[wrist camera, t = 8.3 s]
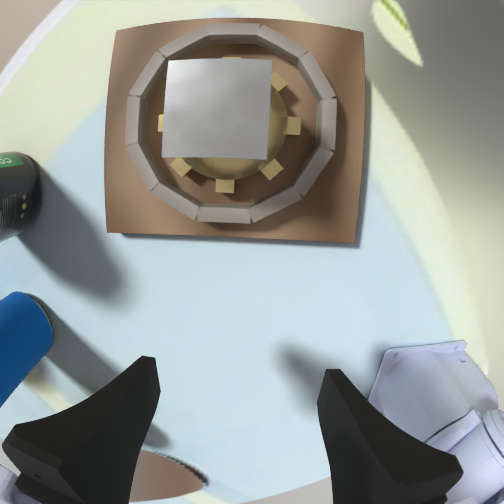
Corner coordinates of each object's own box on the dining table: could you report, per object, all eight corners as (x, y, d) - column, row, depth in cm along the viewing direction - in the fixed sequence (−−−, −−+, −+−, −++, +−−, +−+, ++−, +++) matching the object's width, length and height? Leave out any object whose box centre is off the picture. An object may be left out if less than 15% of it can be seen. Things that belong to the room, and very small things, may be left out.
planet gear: (300, 67, 15) (321, 25, 9) (293, 194, 17) (313, 213, 11) (169, 65, 15) (131, 28, 9) (162, 188, 17) (118, 205, 11)
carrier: (357, 38, 15) (371, 23, 12) (348, 238, 19) (361, 250, 17) (123, 36, 15) (107, 23, 12) (114, 228, 19) (96, 238, 16)
